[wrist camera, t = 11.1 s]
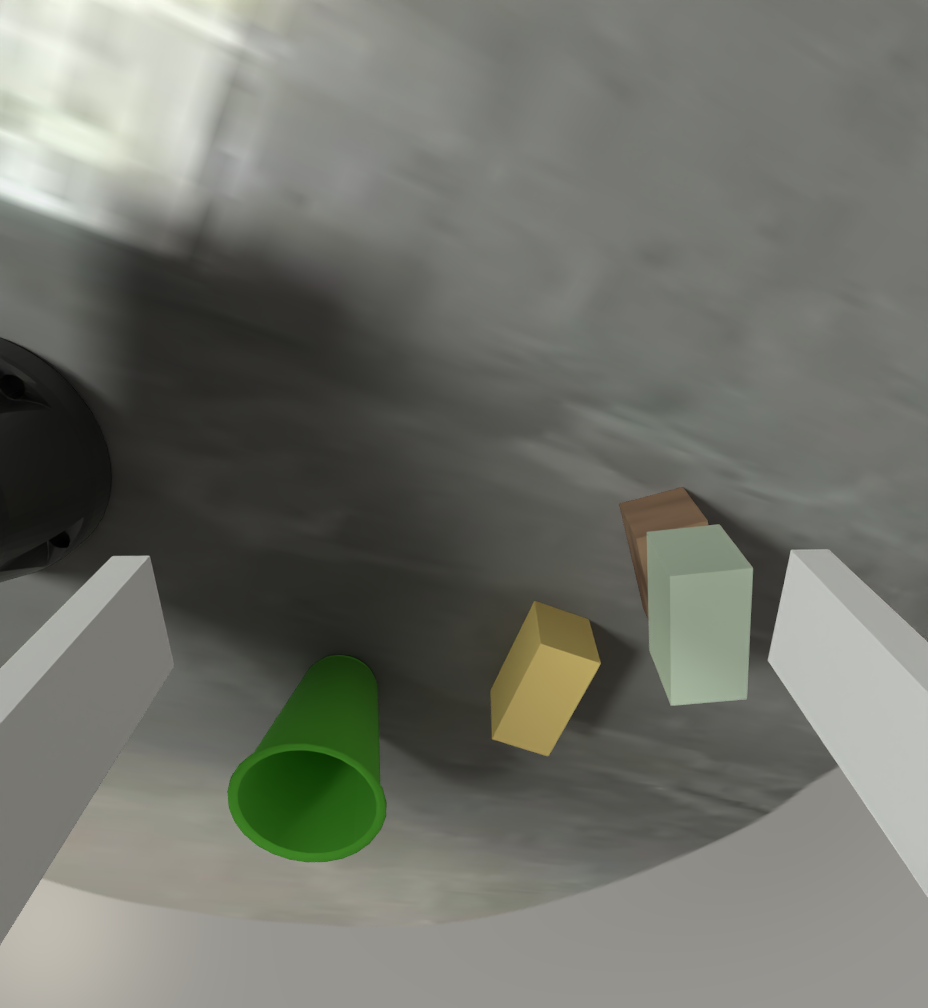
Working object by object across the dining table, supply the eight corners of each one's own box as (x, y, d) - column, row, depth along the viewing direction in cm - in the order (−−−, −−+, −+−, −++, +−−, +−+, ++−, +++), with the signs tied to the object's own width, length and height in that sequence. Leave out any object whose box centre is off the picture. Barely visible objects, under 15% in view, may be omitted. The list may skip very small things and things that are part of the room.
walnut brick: (702, 593, 45) (728, 636, 40) (643, 607, 46) (661, 652, 41) (682, 486, 42) (707, 520, 37) (618, 503, 42) (635, 538, 38)
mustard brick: (541, 705, 49) (548, 756, 44) (490, 688, 49) (491, 738, 44) (588, 618, 46) (600, 663, 41) (534, 599, 45) (540, 643, 41)
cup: (348, 607, 46) (311, 719, 36) (430, 694, 49) (418, 820, 39) (252, 671, 48) (192, 793, 38) (336, 750, 51) (301, 884, 41)
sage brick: (716, 643, 41) (746, 699, 36) (649, 650, 41) (671, 705, 36) (719, 524, 37) (753, 567, 33) (646, 531, 38) (670, 576, 33)
